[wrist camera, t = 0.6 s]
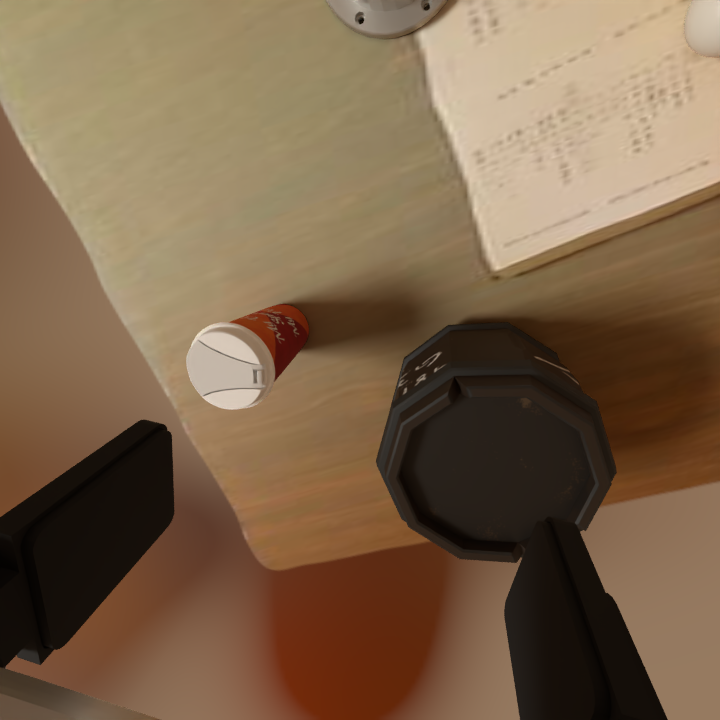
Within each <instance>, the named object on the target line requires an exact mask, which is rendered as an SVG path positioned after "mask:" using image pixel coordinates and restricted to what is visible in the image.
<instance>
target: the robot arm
mask: <svg viewBox="0 0 720 720" xmlns="http://www.w3.org/2000/svg"><path fill="white" fill-rule="evenodd" d="M326 1H327V3H328V4H329V6H330V8H331V9H332V11H333V12H334V14H335V15H336V16H337V17H338V18H339V19H340V20H341V21H342V22H343V23H344V24H345V25H346V26H348V27H349V28H351V29H352V30H353V31H355V32H357V33H359V34H362V35H364V36H367V37H372V38H378V39H387V38H396V37H399V36H403V35H406V34H409V33H411V32H413V31H414V30H416V29H418V28H420V27H422V26H423V25H424V24H426V23H427V22H428V21H429V20H430V19H432V18H433V17H434V16H435V15H436V14H437V13H438V12H439V10H440V9H441V8H442V7H443V6H444V5H445V3H446V2H447V1H448V0H326ZM425 6H429V7H430V9H429V10H427V11H425V10H424V8H425ZM362 19H363V20H364V22H363V23H362V24H359V22H360V20H362ZM173 490H174V488H173V459H172V435H171V433H170V432H169V431H167V427H166V426H165V425H164V424H160V423H155V422H152V421H148V420H140V421H138V422H137V423H135V424H134V425H133V426H131V427H130V428H128V429H127V430H125V431H124V432H122V433H121V434H120V435H118V436H117V437H115V438H114V439H112V440H111V441H109V442H108V443H106V444H105V445H104V446H102V447H101V448H100V449H98V450H96V451H95V452H94V453H92V454H91V455H89V456H88V457H86V458H85V459H83V460H82V461H81V462H79V463H78V464H76V465H75V466H73V467H72V468H70V469H69V470H68V471H66V472H65V473H63V474H62V475H60V476H59V477H58V478H56V479H55V480H53V481H52V482H50V483H49V484H47V485H46V486H45V487H43V488H42V489H40V490H39V491H37V492H36V493H35V494H33V495H32V496H30V497H29V498H27V499H26V500H24V501H23V502H22V503H20V504H19V505H17V506H16V507H14V508H13V509H11V510H10V511H9V512H7V513H6V514H4V515H3V516H2V517H0V720H160V719H157V718H154V717H151V716H148V715H145V714H142V713H139V712H136V711H133V710H130V709H127V708H124V707H121V706H118V705H115V704H112V703H109V702H106V701H103V700H100V699H97V698H94V697H91V696H88V695H85V694H82V693H79V692H76V691H73V690H70V689H67V688H64V687H61V686H57V685H55V684H52V683H48V682H46V681H42V680H39V679H36V678H33V677H30V676H27V675H24V674H21V673H17V672H14V671H11V670H8V669H5V667H6V665H7V664H8V663H9V662H10V661H11V660H12V659H13V658H14V657H15V656H16V655H17V657H18V658H21V659H24V660H27V661H30V662H33V663H36V664H39V665H41V664H42V663H43V662H44V660H45V659H46V658H47V657H48V656H49V655H50V654H51V652H52V651H53V650H54V649H56V650H57V649H60V648H62V647H63V646H64V645H65V644H66V643H67V642H68V641H69V640H70V639H71V638H72V637H73V635H74V634H75V633H76V632H77V631H78V630H79V629H80V627H81V626H82V625H83V624H84V623H85V622H86V620H87V619H88V618H89V617H90V616H91V615H92V614H93V612H94V611H95V610H96V609H97V608H98V607H99V605H100V604H101V603H102V602H103V601H104V600H105V599H106V597H107V596H108V595H109V594H110V593H111V592H112V590H113V589H114V588H115V587H116V586H117V585H118V583H119V582H120V581H121V580H122V579H123V578H124V577H125V575H126V574H127V573H128V572H129V571H130V570H131V569H132V567H133V566H134V565H135V564H136V563H137V562H138V561H139V559H140V558H141V557H142V556H143V555H144V554H145V552H146V551H147V550H148V549H149V548H150V547H151V546H152V544H153V543H154V542H155V541H156V540H157V539H158V537H159V536H160V535H161V534H162V533H163V532H164V531H165V529H166V528H167V527H168V526H169V524H170V523H171V521H172V519H173V515H174V491H173ZM504 612H505V613H504V614H505V615H504V616H505V623H506V630H507V636H508V643H509V649H510V656H511V663H512V668H513V676H514V682H515V689H516V695H517V702H518V708H519V715H520V720H668V719H667V717H666V715H665V713H664V710H663V708H662V706H661V704H660V701H659V699H658V697H657V694H656V692H655V690H654V688H653V685H652V683H651V681H650V679H649V676H648V674H647V672H646V670H645V667H644V665H643V663H642V660H641V658H640V656H639V654H638V652H637V649H636V647H635V645H634V642H633V640H632V638H631V635H630V633H629V631H628V629H627V627H626V624H625V622H624V620H623V617H622V615H621V613H620V611H619V609H618V606H617V604H616V602H615V601H614V599H613V597H612V596H610V595H609V594H608V593H605V590H604V588H603V585H602V583H601V581H600V578H599V576H598V574H597V572H596V569H595V567H594V564H593V562H592V560H591V558H590V555H589V553H588V550H587V548H586V546H585V543H584V541H583V539H582V536H581V534H580V532H579V529H578V527H577V525H576V524H575V523H574V522H570V521H566V520H562V519H558V518H553V517H547V518H546V519H545V520H544V522H543V521H537V522H536V524H535V527H534V529H533V532H532V534H531V537H530V540H529V542H528V545H527V547H526V550H525V552H524V555H523V558H522V560H521V563H520V566H519V568H518V571H517V573H516V576H515V578H514V581H513V583H512V586H511V589H510V591H509V594H508V597H507V599H506V602H505V610H504Z"/></svg>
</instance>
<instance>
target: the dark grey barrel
mask: <svg viewBox="0 0 720 720" xmlns="http://www.w3.org/2000/svg"><path fill="white" fill-rule="evenodd" d="M376 463H377V467H378V469H379V471H380V473H381V475H382V478H383V480H384V482H385V484H386V486H387V488H388V491H389V493H390V495H391V497H392V499H393V501H394V504H395V506H396V508H397V510H398V512H399V514H400V517H401V519H402V520H404V521H405V522H406V523H407V525H408V527H409V528H411V529H412V530H414V531H416V532H417V533H419V534H420V535H422V536H424V537H425V538H427V539H428V540H430V541H432V542H433V543H435V544H437V545H438V546H440V547H441V548H443V549H445V550H446V551H448V552H449V553H451V554H453V555H454V556H456V557H457V558H459V559H467V560H482V561H498V562H511V563H516V562H517V561H518V560H519V559H520V557H523V555H524V552H525V550H526V547H527V545H528V542H529V540H530V537H531V534H532V532H533V529H534V527H535V524H536V522H537V521H543V522H544V520H545V519H546V518H547V517H553V518H558V519H562V520H566V521H570V522H574V523H575V524H576V525H577V527H578V529H579V532H580V531H582V530H585V531H586V530H587V528H588V526H589V524H590V522H591V521H592V519H593V517H594V515H595V513H596V512H597V510H598V508H599V506H600V504H601V503H602V501H603V499H604V497H605V495H606V493H607V492H608V490H609V488H610V486H611V482H612V480H613V478H614V476H615V474H616V473H617V472H616V466H615V462H614V459H613V455H612V452H611V449H610V445H609V442H608V439H607V435H606V432H605V428H604V425H603V422H602V418H601V415H600V411H599V408H598V405H597V401H595V400H594V399H592V398H591V397H589V396H587V395H586V394H584V393H583V391H582V389H581V387H580V385H579V383H578V381H577V380H576V379H575V377H574V376H573V375H572V374H571V373H570V371H569V370H568V369H567V368H566V367H565V366H564V365H562V364H561V363H560V362H559V359H558V355H557V353H555V352H554V351H552V350H551V349H549V348H547V347H546V346H544V345H543V344H541V343H540V342H538V341H536V340H535V339H533V338H532V337H530V336H529V335H527V334H525V333H524V332H522V331H521V330H519V329H518V328H516V327H514V326H513V325H511V324H510V323H508V322H504V323H482V324H460V325H448V326H446V327H445V328H444V329H442V330H441V331H440V332H438V333H437V334H436V335H434V336H433V337H432V338H430V339H429V340H428V341H426V342H425V343H424V344H422V345H421V346H420V347H418V348H417V349H416V350H414V351H413V352H412V353H410V354H409V355H408V356H406V357H405V358H404V361H403V364H402V368H401V371H400V375H399V379H398V382H397V386H396V389H395V393H394V397H393V400H392V404H391V408H390V412H389V415H388V419H387V423H386V426H385V430H384V434H383V437H382V441H381V444H380V448H379V452H378V455H377V459H376Z"/></svg>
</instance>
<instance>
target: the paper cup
mask: <svg viewBox="0 0 720 720" xmlns="http://www.w3.org/2000/svg"><path fill="white" fill-rule="evenodd" d="M308 335H309V326H308V322H307V320H306V318H305V316H304V315H303V314H302V313H301V312H300V311H299V310H298V309H297V308H295V307H293V306H290V305H286V304H281V305H275V306H272V307H269V308H266V309H263V310H260V311H258V312H255V313H252V314H250V315H247V316H244V317H242V318H239V319H236V320H234V321H231V322H221V323H215V324H212V325H209V326H208V327H206V328H204V329H203V330H202V331H200V332H199V333H198V335H197V336H196V337H195V339H194V341H193V342H192V345H191V348H190V350H189V352H188V354H187V359H186V362H187V370H188V374H189V377H190V380H191V382H192V384H193V386H194V387H195V389H196V390H197V391H198V393H199V394H200V395H201V396H202V397H203V398H204V399H205V400H206V401H208V402H209V403H211V404H213V405H214V406H217V407H220V408H224V409H231V410H234V409H241V408H249V407H252V406H255V405H257V404H259V403H260V402H262V401H263V400H264V399H265V398H266V397H267V396H268V394H269V393H270V391H271V389H272V387H273V384H274V382H275V380H276V379H277V378H278V377H279V376H280V374H281V373H282V372H283V371H284V370H285V368H286V367H287V366H288V365H289V363H290V362H291V361H292V360H293V359H294V357H295V356H296V355H297V354H298V352H299V351H300V350H301V348H302V347H303V346H304V344H305V343H306V341H307V339H308Z"/></svg>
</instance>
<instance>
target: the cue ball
mask: <svg viewBox="0 0 720 720" xmlns="http://www.w3.org/2000/svg"><path fill="white" fill-rule="evenodd" d="M684 36H685V39H686V42H687V44H688V46H689V47H690V48H691V49H692V50H693V51H694V52H696V53H697V54H699V55H702V56H705V57H720V0H692V1H691V3H690V5H689V7H688V10H687V12H686V16H685V20H684Z"/></svg>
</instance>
